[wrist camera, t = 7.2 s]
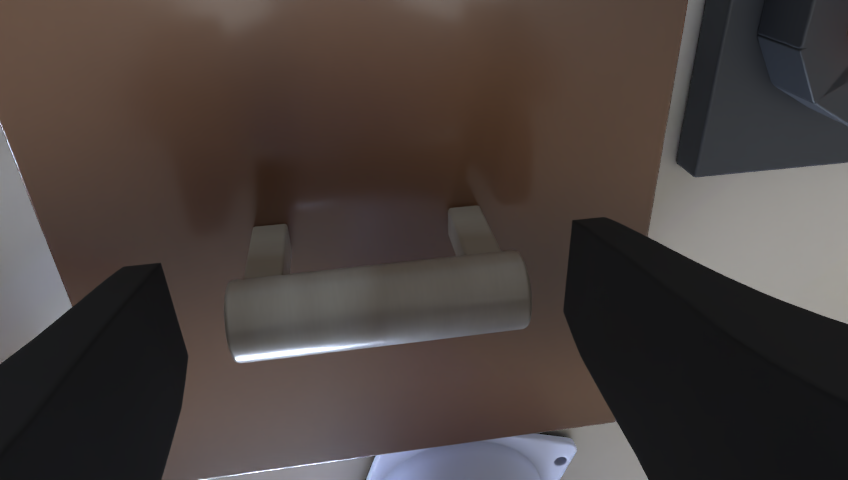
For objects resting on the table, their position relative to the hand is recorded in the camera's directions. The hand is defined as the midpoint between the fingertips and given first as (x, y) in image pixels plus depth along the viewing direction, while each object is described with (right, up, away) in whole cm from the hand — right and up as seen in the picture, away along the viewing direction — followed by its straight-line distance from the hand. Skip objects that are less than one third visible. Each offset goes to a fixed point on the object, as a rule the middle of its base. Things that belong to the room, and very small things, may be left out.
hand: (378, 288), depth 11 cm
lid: (0, +1, +3) cm, 3 cm away
